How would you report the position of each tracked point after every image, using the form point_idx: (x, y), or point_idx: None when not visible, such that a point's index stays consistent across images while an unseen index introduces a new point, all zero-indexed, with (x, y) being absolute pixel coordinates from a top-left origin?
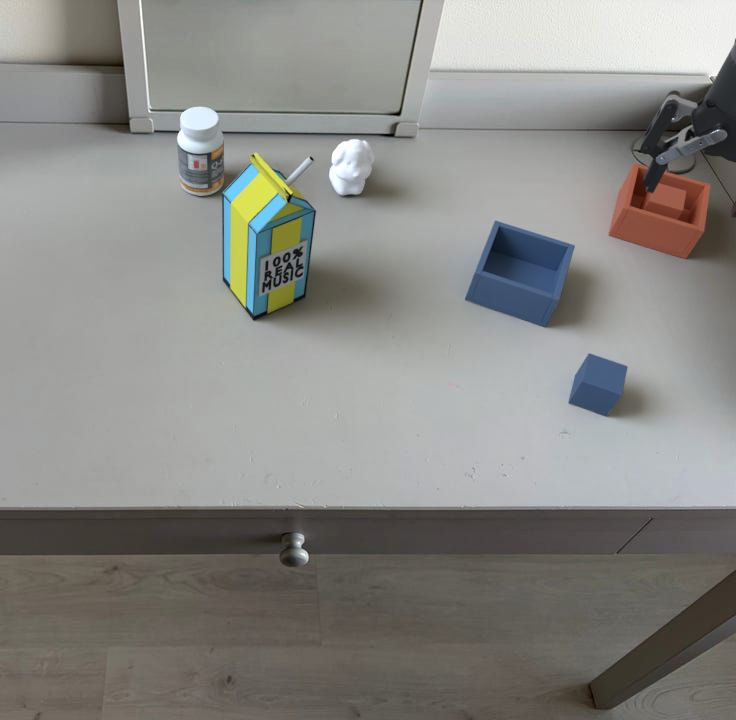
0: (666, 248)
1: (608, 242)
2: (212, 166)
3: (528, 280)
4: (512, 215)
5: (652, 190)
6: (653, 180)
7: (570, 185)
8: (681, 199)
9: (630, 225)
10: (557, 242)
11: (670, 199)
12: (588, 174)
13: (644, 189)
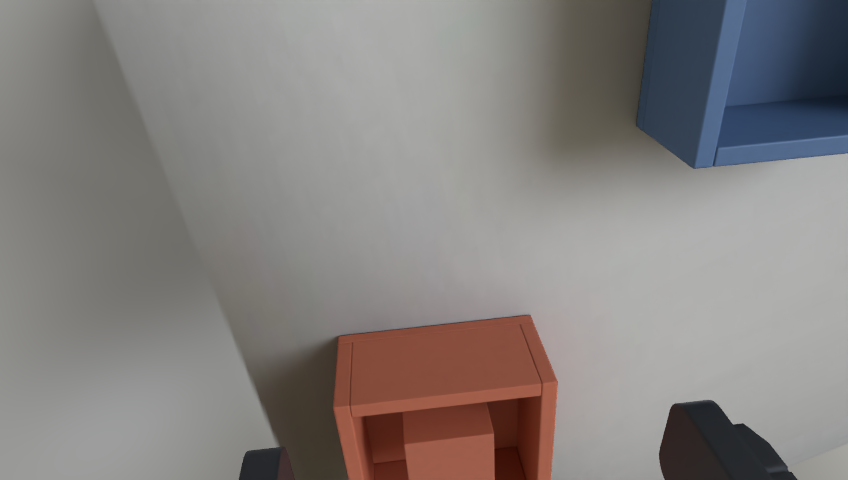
0: (392, 339)
1: (525, 294)
2: None
3: (745, 25)
4: (771, 259)
5: (698, 414)
6: (753, 464)
7: (633, 408)
8: (416, 473)
9: (505, 351)
10: (752, 150)
11: (443, 461)
12: (597, 452)
13: None
